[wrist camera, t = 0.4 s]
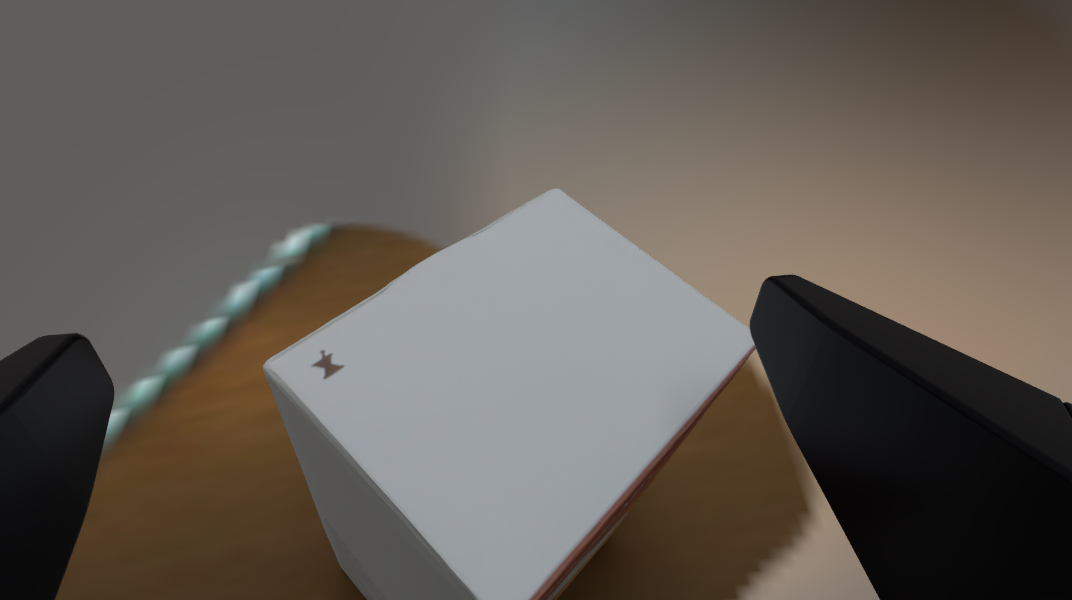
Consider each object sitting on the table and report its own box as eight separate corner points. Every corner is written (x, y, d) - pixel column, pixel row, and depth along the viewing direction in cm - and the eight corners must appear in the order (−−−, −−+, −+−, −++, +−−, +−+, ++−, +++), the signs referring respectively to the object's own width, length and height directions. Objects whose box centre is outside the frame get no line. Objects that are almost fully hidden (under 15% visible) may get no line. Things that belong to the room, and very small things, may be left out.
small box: (460, 721, 18) (500, 648, 8) (335, 566, 20) (247, 358, 10) (618, 532, 22) (771, 333, 12) (501, 421, 25) (552, 177, 15)
